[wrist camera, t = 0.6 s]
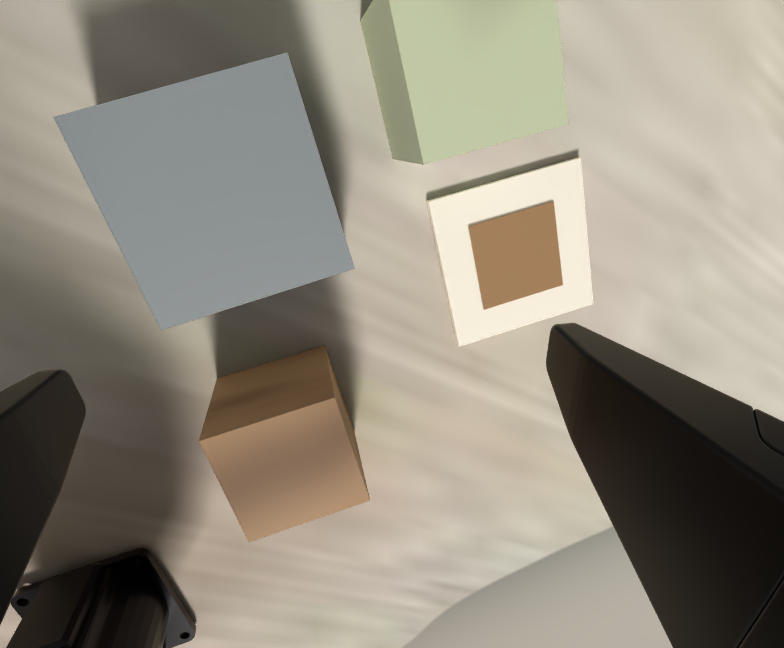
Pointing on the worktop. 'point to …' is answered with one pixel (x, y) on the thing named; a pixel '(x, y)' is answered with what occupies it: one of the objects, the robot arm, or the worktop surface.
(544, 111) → the sage block
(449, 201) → the card
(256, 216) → the slate base block
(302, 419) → the walnut block
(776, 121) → the worktop surface
